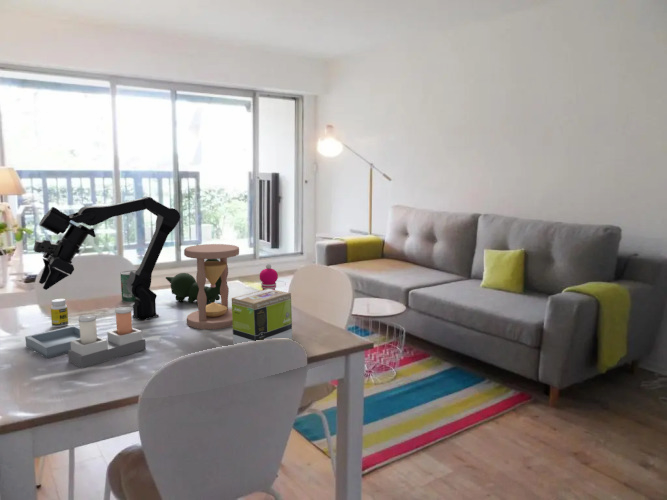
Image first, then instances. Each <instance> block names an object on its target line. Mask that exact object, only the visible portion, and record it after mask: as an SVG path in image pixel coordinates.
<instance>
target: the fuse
mask: <svg viewBox="0 0 667 500" xmlns="http://www.w3.org/2000/svg"><path fill="white" fill-rule="evenodd" d="M77 319H78V327H79V328H80V342H81V344H83V345H86V344H90V343H94V342H97V335H98V334H97V333H98V331H97V315H96V314H83V315H80V316H78V318H77Z"/></svg>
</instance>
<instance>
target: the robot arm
mask: <svg viewBox="0 0 667 500" xmlns="http://www.w3.org/2000/svg"><path fill="white" fill-rule="evenodd" d="M144 210H147V211H148V212H150V213H151V214H153V215H155V216H156V220H155V230H154V233H153V234H152V237H151V239H150V242H149V245H148V246H147V248H146V251H145V253H144V256H143V257H142V260H141V263H140V264H139V267H138V269H137V271H136V272H135V273H134V272H132V271H131V270H130V271H131V272H130V275H129V278H128V280H127V281H126V282H127V289H128V291H129V292H130V293H131V294H132V295H133V296H134V297H135V298H136V300H134V302H133V305H132V318H135V319H137V320H140V321H145V320H148V319H153V318H156V317H159V314H158V313H157V309H156V306H157V305H156V304H157V303H156V300H157V296H158V295H157V294H156V293H155V292H153V290H152V289H150V288H151V285H152V274H153V271H154V269H155V267H156V263H157V262H158V260H159V256H161V255H160V254H161V252H162V250H163V248H164V246H165V244H166V241H167V239H168V236H169V235H170V234H171V233H172V232H173V231H174V230H175V229H176V227H177V225H178V223H179V222H180V220H181V214H180V212H179V211H178V209H176V208H172V207H168V206H166V205H164V204H162V203H161V202H158V201H157V200H155V199H154V198H153V197H150V196H143V197H141V198H136V199H131V200H127V201H123V202H118V203H113V204H109V205H108V204H107V205H87V206H82V207H81V208H80V209H79V210H78V211H77V212H74V213H71V214H68V215H67V214H65V213H64V212H62V211H60V210H59V209H58V208H56V207H54V206H52V207H51V208H50V209H49V210H48V211H47V213H46V214H44V215H43V217H42V218H41V220H40V222H39V226H40V227H42V228H44V229H46V230H48V231H49V232H52V233H54V234H56V235H59V234H64V235H63V236H62V238H61V239H58V240H57V241H56V242H52V241H50V240H46V239H44V240H39V239H38V240H37V239H36V240H35V241H34V246H33V251H34V253H43V255H42V257H43V258H42V260H43V264H44V267H43V270H42V273H41V275H40V278H39V282H38V283H39V284H41V285H43V284H44V285H43V286H42V289H43V290H45V291H46V290H48V289H50V288H52V287H53V286H54V285H56V284H58V283H59V282H60V281H62V280H64V279H65V278H67V277H69V276H71V275H72V274H73V272H74V271H75V267H74V265H73V264H72V263H73V261H72V260H73V259H74V257H75V256H76V255H77V254H79V253H80V251H81V250H80V248H81V247H82V246H83V244H84V242H85V240H86V239H87V238H88V236H91V237H92V238H96V236H97V235H96V233H95V228H94V227H91V226H95V225H98V224H101V223H103V222H105V221H107V220H109V219H112V218H114V217H119V216H124V215H127V214H128V215H129V214H132V213H136V212H140V211H144ZM71 221H72V222H74V223H75V224H74V223H71ZM76 224H78V226H77V225H76ZM83 224H84V225H83ZM85 225H86V226H90V227H91V228H89V227H86V226H85Z"/></svg>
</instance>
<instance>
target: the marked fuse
mask: <svg viewBox="0 0 667 500" xmlns="http://www.w3.org/2000/svg"><path fill="white" fill-rule="evenodd" d="M114 310H115V311H114V313H115V321H116V330H117V334H118V335H125V334H129V333H132V327H133V321H132V320H133V317H132V315H133V313H132V312H133V307H130V306H120V307H117V308H115V309H114Z"/></svg>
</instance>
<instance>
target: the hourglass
mask: <svg viewBox="0 0 667 500" xmlns="http://www.w3.org/2000/svg"><path fill="white" fill-rule="evenodd" d="M183 255H184V257H186V258H191V259H196V277H195V278H196V279H195V280H196V282H197V284H198V287H199V292H198V296H197V300H196V301H197V302H196V303H197V307H198V310H195V311H192V312H191V313H188V315H187V316H186V324H187V325H188V327H191V328H194V329H198V330H218V329H226V328H230V327H233V321H232V308H229V294H230V293H229V292H230V291H229V290H230V289H229V285H228V281H227V279H228V276H229V266H228V259H229V258H233V257H236V256H239V255H240V247H239V246H237V245H233V244H224V243H212V244H210V243H209V244H197V245H196V244H195V245H190V246H187V247H185V248H184V249H183ZM207 259H217V260H219V261H208V262H205V260H207ZM219 277H221V280H222V283H221V287H220V295H219V296H220V300H221V301H220V303H217V302H213V303H211V302H210V303H209V304H207V303H208V302H207V297H206V294H205V291H204V287H205V286H206V281H208V283H210V286H209V287H216V285H215V283H216V282H217V280H218V279H219Z"/></svg>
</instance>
